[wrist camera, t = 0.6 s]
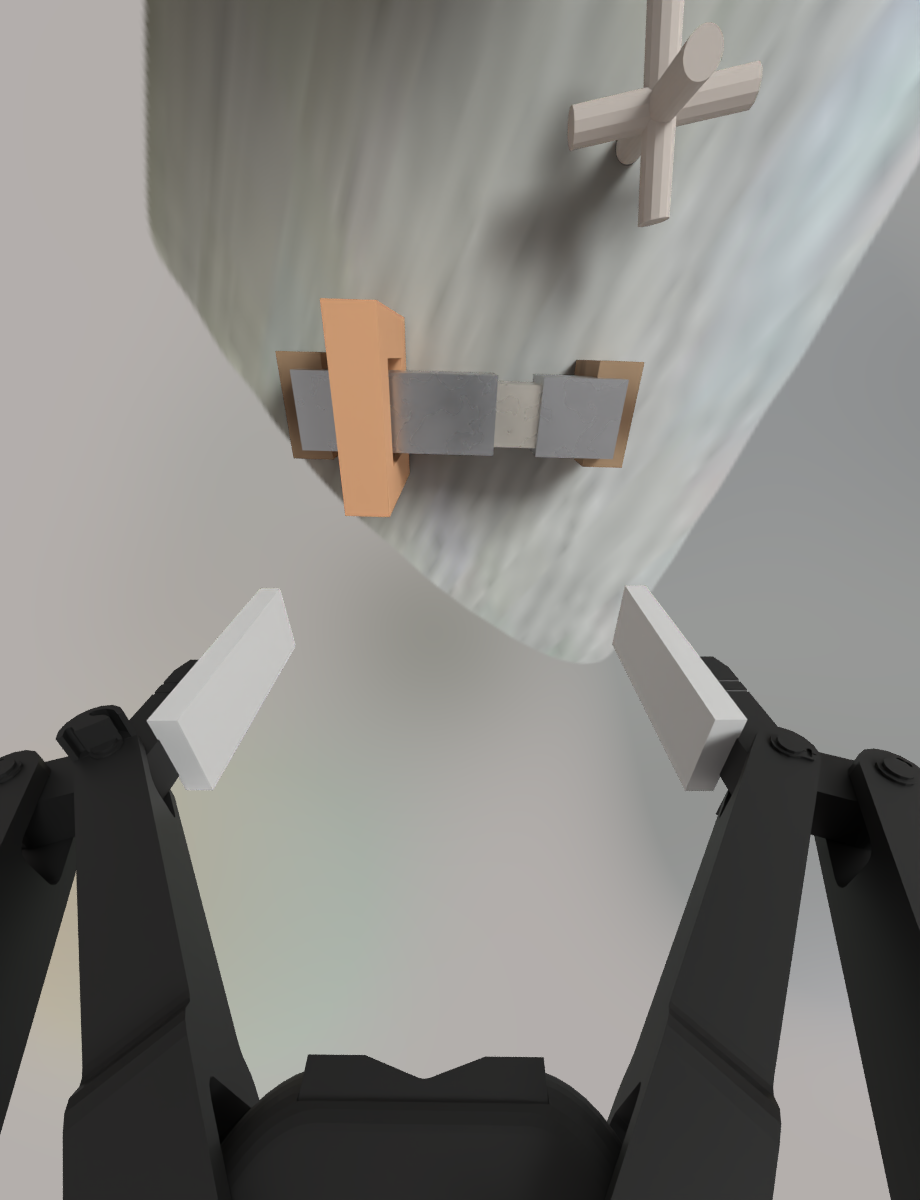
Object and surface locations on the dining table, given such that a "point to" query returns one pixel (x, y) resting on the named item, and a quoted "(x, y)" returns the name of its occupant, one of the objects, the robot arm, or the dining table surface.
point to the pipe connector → (665, 102)
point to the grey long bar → (478, 413)
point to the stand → (582, 368)
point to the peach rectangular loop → (365, 401)
